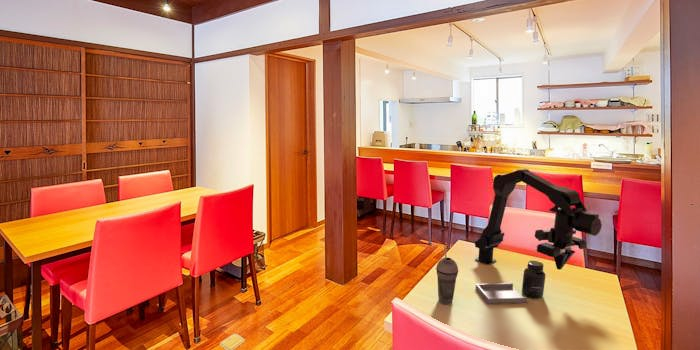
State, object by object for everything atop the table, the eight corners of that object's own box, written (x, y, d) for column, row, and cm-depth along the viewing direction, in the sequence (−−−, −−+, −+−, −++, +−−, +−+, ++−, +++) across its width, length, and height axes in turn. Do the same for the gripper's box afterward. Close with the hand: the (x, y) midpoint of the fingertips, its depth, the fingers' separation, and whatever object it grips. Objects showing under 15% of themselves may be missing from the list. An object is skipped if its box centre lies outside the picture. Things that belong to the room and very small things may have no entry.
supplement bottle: (534, 301, 120) (538, 268, 118) (517, 292, 126) (520, 261, 124) (547, 297, 123) (551, 264, 121) (529, 288, 129) (532, 257, 127)
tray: (511, 287, 130) (512, 282, 129) (527, 303, 120) (528, 297, 119) (475, 289, 129) (476, 283, 129) (488, 304, 119) (488, 298, 118)
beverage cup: (453, 309, 116) (456, 251, 112) (431, 303, 120) (434, 247, 116) (459, 299, 122) (462, 244, 118) (438, 293, 126) (440, 240, 122)
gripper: (558, 216, 132) (553, 256, 135) (524, 223, 124) (520, 265, 127) (589, 225, 122) (583, 267, 125) (555, 233, 114) (550, 278, 117)
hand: (558, 269), depth 124 cm, fingers closed
